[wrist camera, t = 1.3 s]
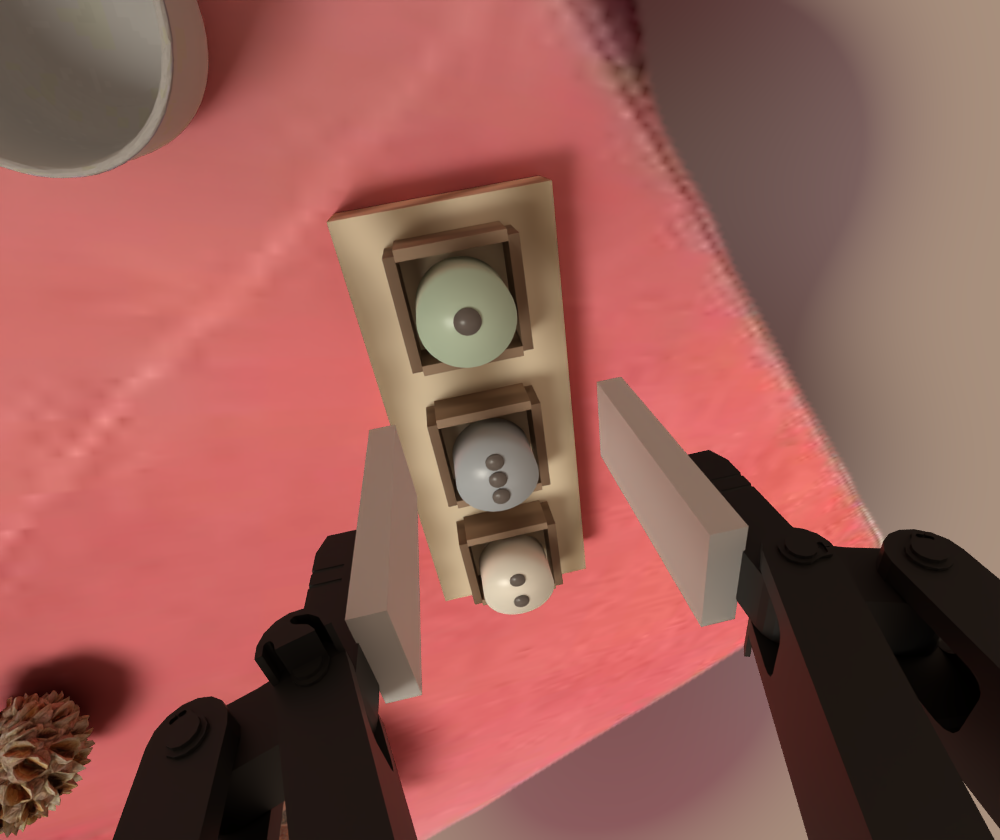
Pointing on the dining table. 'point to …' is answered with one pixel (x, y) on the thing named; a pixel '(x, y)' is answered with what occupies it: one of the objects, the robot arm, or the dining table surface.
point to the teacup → (96, 81)
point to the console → (477, 390)
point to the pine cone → (39, 756)
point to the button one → (464, 312)
